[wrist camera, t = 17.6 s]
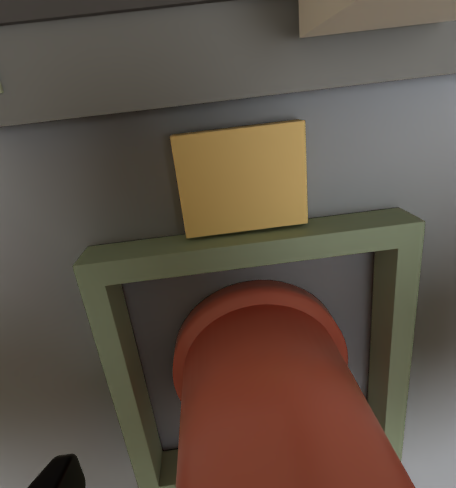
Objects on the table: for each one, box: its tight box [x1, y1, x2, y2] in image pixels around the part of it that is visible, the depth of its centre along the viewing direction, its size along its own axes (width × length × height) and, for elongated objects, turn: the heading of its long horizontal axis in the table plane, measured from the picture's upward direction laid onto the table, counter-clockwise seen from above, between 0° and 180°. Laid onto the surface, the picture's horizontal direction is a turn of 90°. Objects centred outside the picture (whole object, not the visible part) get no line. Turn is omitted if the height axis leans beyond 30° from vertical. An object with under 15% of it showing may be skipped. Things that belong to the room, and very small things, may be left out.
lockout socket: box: [72, 119, 425, 488], centre depth 10 cm, size 8×11×1 cm
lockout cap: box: [173, 280, 415, 488], centre depth 8 cm, size 5×5×6 cm
